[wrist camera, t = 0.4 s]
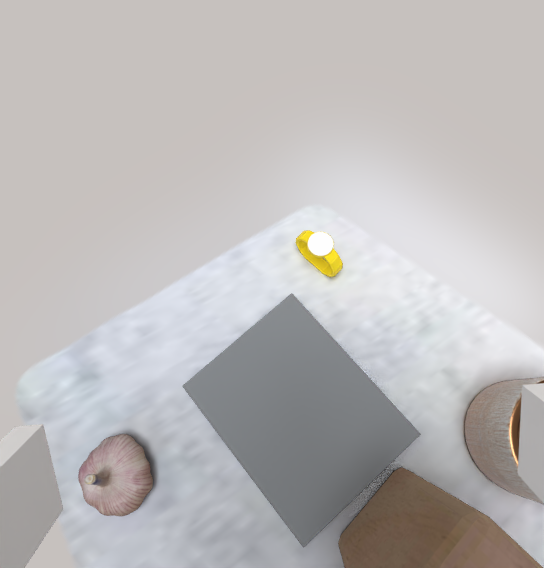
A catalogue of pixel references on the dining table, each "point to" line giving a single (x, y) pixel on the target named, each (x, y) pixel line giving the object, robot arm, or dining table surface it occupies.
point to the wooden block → (426, 531)
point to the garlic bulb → (116, 476)
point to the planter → (499, 434)
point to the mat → (300, 417)
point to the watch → (319, 251)
